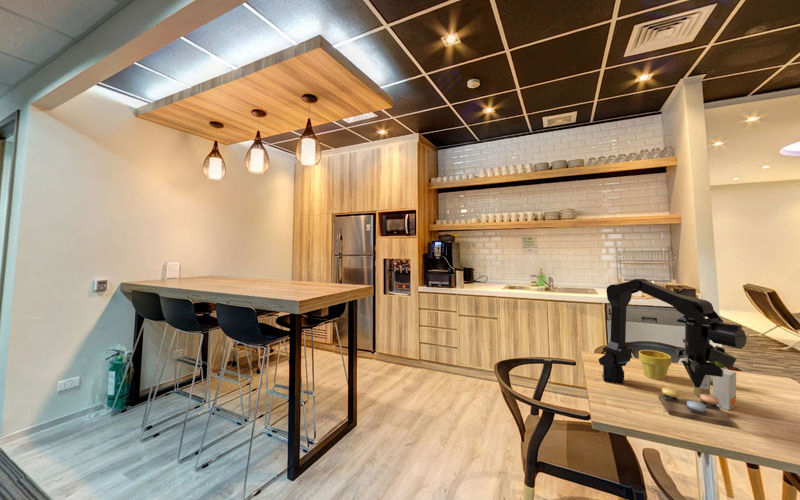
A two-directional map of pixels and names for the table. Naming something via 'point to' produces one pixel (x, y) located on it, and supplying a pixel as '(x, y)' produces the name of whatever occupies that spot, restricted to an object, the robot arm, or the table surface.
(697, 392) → the sprinkles bottle
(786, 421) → the table surface
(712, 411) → the board
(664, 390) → the ochre button
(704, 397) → the terracotta button
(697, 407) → the slate-blue button
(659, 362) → the plant pot
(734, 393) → the skincare box
